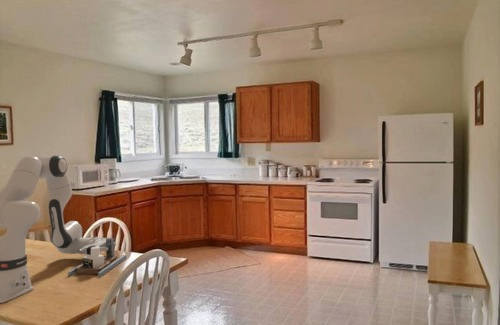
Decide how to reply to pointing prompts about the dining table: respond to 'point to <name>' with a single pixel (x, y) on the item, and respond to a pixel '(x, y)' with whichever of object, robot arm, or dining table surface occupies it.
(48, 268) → the dining table surface
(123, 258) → the guide rails
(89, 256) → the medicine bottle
